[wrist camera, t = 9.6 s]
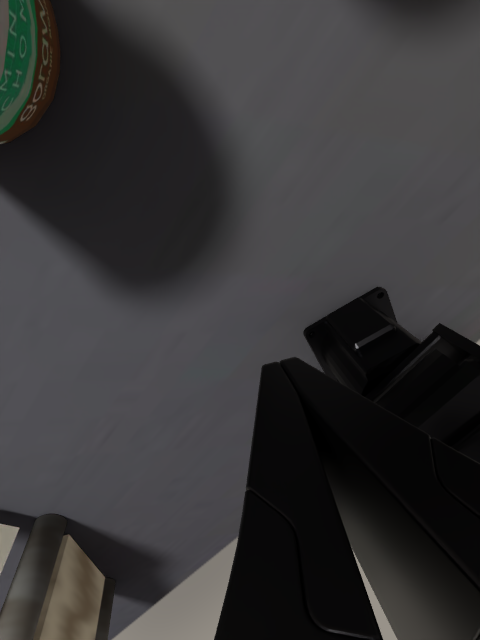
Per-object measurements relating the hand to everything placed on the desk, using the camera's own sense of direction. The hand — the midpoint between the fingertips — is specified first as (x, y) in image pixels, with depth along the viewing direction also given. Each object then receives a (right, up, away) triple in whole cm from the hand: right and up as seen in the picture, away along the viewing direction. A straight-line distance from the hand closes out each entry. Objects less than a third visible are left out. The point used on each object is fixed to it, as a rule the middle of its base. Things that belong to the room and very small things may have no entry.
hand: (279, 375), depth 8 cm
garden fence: (-17, -22, +24) cm, 36 cm away
